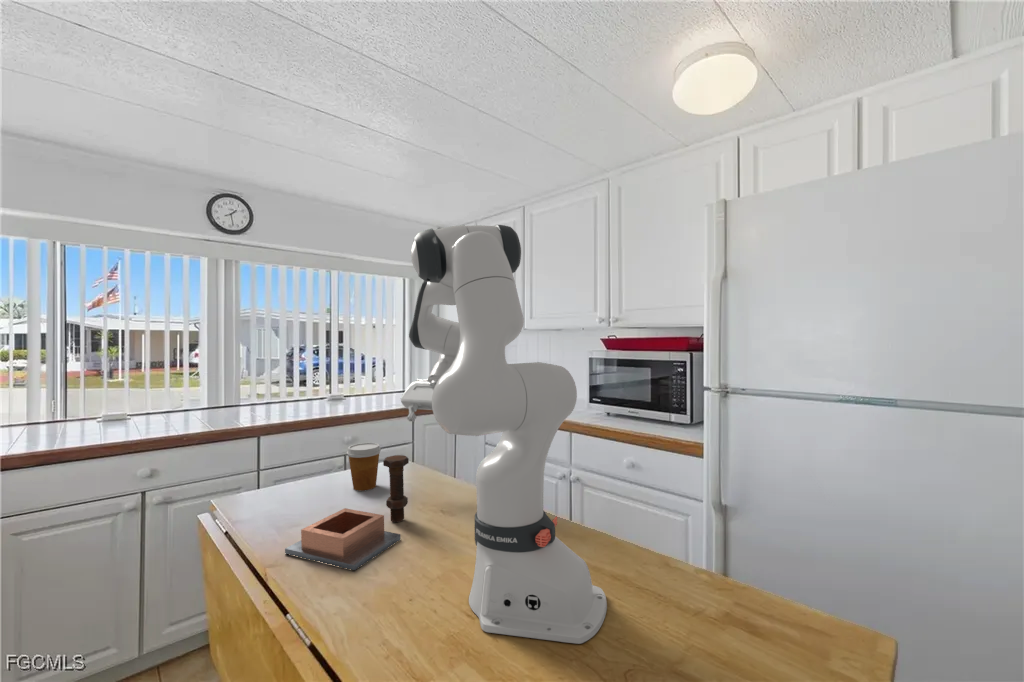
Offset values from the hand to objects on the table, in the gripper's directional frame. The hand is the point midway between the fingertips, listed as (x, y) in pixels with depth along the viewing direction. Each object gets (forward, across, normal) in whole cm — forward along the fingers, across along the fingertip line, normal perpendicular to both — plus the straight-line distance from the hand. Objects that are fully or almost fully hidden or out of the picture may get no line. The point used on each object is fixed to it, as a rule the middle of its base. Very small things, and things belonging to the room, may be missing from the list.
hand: (425, 421), depth 119 cm
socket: (+34, -2, -4) cm, 35 cm away
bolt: (+24, 0, +7) cm, 25 cm away
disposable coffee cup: (+13, -24, +18) cm, 33 cm away
